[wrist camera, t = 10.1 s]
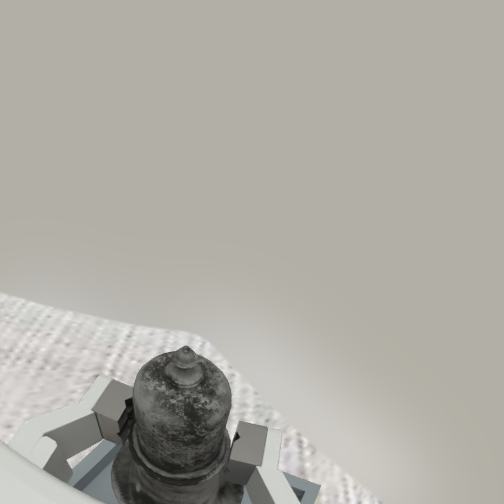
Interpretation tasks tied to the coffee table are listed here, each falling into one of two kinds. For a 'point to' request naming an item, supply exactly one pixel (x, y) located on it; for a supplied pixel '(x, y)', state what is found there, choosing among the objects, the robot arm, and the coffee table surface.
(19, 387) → the coffee table surface
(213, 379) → the dark stone stupa
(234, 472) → the robot arm
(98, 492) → the tray
